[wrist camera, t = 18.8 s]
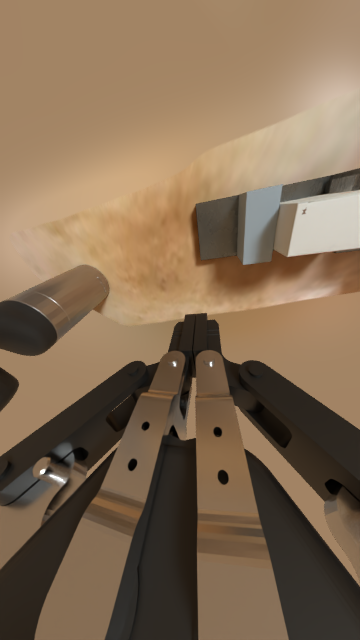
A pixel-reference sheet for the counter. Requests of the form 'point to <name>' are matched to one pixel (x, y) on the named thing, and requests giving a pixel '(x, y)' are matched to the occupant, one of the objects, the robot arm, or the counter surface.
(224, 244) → the vise bed
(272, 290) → the counter surface
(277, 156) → the counter surface
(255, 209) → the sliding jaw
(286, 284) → the counter surface
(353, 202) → the small box
